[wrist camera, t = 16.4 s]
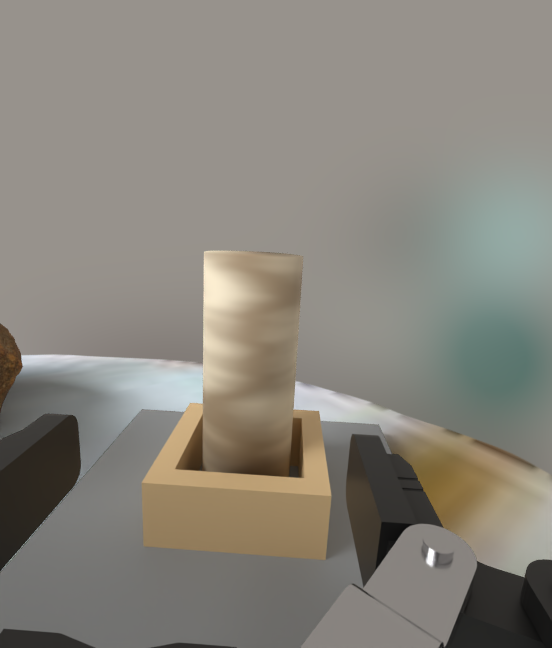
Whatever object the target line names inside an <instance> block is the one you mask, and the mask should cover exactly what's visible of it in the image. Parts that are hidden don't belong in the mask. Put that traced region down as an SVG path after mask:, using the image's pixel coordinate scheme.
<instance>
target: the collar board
mask: <svg viewBox="0 0 552 648" xmlns="http://www.w3.org/2000/svg"><path fill="white" fill-rule="evenodd" d="M352 434H365V435H378V436H379V437H380V439H381V441H382V443H383V446H384V448H385V450H386V452H387V454H392V453H391V450H390V448H389V446H388V444H387V442H386V439H385V437H384V435H383V433H382V431H381V428H380V426H379V425H376V424H361V423H346V422H330V421H320V415H319V411H308V410H293V423H292V439H291V455H290V470H289V477H279V476H264V475H250V474H235V473H221V472H206V471H202V465H203V404H198V403H190V404H189V406H188V407H187V409H186V411H185V412H175V411H160V410H144V409H142V410H141V411H140V412H139V413H138V414H137V415H136V417H135V418H134V419H133V420H132V421H131V422H130V424H129V425H128V426H127V427H126V428H125V429H124V430H123V432H122V433H121V434H120V435H119V436H118V437H117V439H116V440H115V441H114V442H113V443H112V444H111V445H110V447H109V448H108V449H107V450H106V451H105V452H104V454H103V455H102V456H101V457H100V458H99V459H98V460H97V462H96V463H95V464H94V465H93V466H92V467H91V469H90V470H89V471H88V472H87V473H86V474H85V475H84V477H83V478H82V479H81V480H80V481H79V482H78V484H77V485H76V486H75V487H74V488H73V489H72V490H71V492H70V493H69V494H68V495H67V496H66V497H65V499H64V500H63V501H62V502H61V503H60V504H59V505H58V507H57V508H56V509H55V510H54V511H53V512H52V514H51V515H50V516H49V517H48V518H47V519H46V520H45V522H44V523H43V524H42V525H41V526H40V527H39V529H38V530H37V531H36V532H35V533H34V534H33V535H32V537H31V538H30V539H29V540H28V541H27V542H26V544H25V545H24V546H23V547H22V548H21V549H20V550H19V552H18V553H17V554H16V555H15V556H14V557H13V559H12V560H11V561H10V562H9V563H8V564H7V565H6V567H5V568H4V569H3V570H2V571H1V572H0V633H1V632H2V630H3V629H15V630H28V631H41V632H53V633H61V634H64V635H66V636H69V637H71V638H73V639H76V640H78V641H81V642H83V643H85V644H88V645H90V646H93V647H95V648H151V647H156V646H162V645H167V644H173V643H178V642H180V643H192V644H205V645H218V646H230V647H237V648H300V647H301V646H302V644H303V643H304V642H305V641H306V639H307V638H308V637H309V635H310V634H311V633H312V631H313V630H314V629H315V627H316V626H317V625H318V623H319V622H320V621H321V619H322V618H323V617H324V616H325V614H326V613H327V612H328V610H329V609H330V608H331V606H332V605H333V604H334V602H335V601H336V600H337V598H338V597H339V596H340V594H341V593H342V592H343V591H344V589H345V588H346V587H347V586H348V585H350V584H356V585H357V586H359V587H360V588H362V589H363V588H364V587H363V583H362V578H361V573H360V568H359V563H358V558H357V553H356V548H355V543H354V538H353V534H352V529H351V524H350V519H349V514H348V509H347V503H346V479H347V469H348V459H349V449H350V440H351V436H352Z"/></svg>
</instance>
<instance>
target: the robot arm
mask: <svg viewBox="0 0 552 648" xmlns="http://www.w3.org/2000/svg"><path fill="white" fill-rule="evenodd" d="M80 467H81V460H80V446H79V432H78V422H77V419H76V417H75V416H73V415H61V414H44V415H43V416H41V417H40V418H39V419H37V420H36V421H34V422H33V423H32V424H30V425H29V426H28V427H26V428H25V429H23V430H21V431H19V432H17V433H14V434H12V435H10V436H7V437H5V438H3V439H2V440H0V571H1V570H2V568H3V567H4V566H5V565H6V564H7V563H8V561H9V560H10V559H11V558H12V557H13V556H14V555H15V553H16V552H17V551H18V550H19V549H20V548H21V546H22V545H23V544H24V543H25V542H26V541H27V540H28V538H29V537H30V536H31V535H32V534H33V533H34V531H35V530H36V529H37V528H38V527H39V526H40V525H41V523H42V522H43V521H44V520H45V519H46V518H47V516H48V515H49V514H50V513H51V512H52V511H53V510H54V508H55V507H56V506H57V505H58V504H59V503H60V501H61V500H62V499H63V498H64V497H65V496H66V495H67V493H68V492H69V491H70V490H71V489H72V488H73V486H74V485H75V483H76V481H77V479H78V476H79V473H80ZM346 503H347V509H348V514H349V519H350V524H351V529H352V534H353V538H354V543H355V548H356V553H357V558H358V563H359V568H360V573H361V578H362V583H363V587H364V588H363V589H362V588H360V587H359V586H357V585H356V584H350V585H348V586H347V587H346V588H345V589H344V591H343V592H342V593H341V594H340V596H339V597H338V598H337V600H336V601H335V602H334V604H333V605H332V606H331V608H330V609H329V610H328V612H327V613H326V614H325V616H324V617H323V618H322V619H321V621H320V622H319V623H318V625H317V626H316V627H315V629H314V630H313V631H312V633H311V634H310V635H309V637H308V638H307V639H306V641H305V642H304V643H303V644H302V646H301V647H300V648H552V560H536V561H533V562H532V563H530V564H529V565H528V567H527V570H526V574H525V578H524V577H521V576H518V575H515V574H511V573H508V572H505V571H502V570H499V569H495V568H492V567H490V566H487V565H484V564H482V563H480V562H478V561H477V560H476V556H475V554H474V552H473V550H472V549H471V548H470V546H469V545H468V544H467V543H466V542H465V541H464V540H463V539H461V538H460V537H459V536H457V535H456V534H454V533H452V532H451V531H449V530H447V529H444V528H443V526H442V524H441V522H440V520H439V518H438V516H437V514H436V512H435V511H434V509H433V507H432V505H431V503H430V501H429V499H428V497H427V495H426V493H425V492H424V491H423V487H422V486H421V484H420V482H419V481H418V478H417V476H416V474H415V472H414V470H413V468H412V466H411V465H410V464H409V463H407V462H406V461H405V460H404V459H403V458H402V457H400V456H399V455H398V454H387V452H386V450H385V448H384V446H383V443H382V441H381V439H380V437H379V436H378V435H365V434H352V436H351V440H350V449H349V459H348V469H347V479H346ZM0 648H95V647H93V646H90V645H88V644H85V643H83V642H81V641H78V640H76V639H73V638H71V637H69V636H66V635H64V634H61V633H53V632H41V631H28V630H15V629H3V630H2V632H1V633H0ZM151 648H237V647H230V646H218V645H205V644H192V643H180V642H178V643H173V644H167V645H162V646H156V647H151Z"/></svg>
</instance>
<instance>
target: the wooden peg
mask: <svg viewBox="0 0 552 648" xmlns="http://www.w3.org/2000/svg"><path fill="white" fill-rule="evenodd" d="M302 267H303V256H300V255H292V254H283V253H270V252H251V251H205V252H204V329H203V330H204V331H203V337H204V338H203V465H202V471H206V472H221V473H235V474H250V475H264V476H279V477H289V470H290V455H291V439H292V423H293V408H294V392H295V376H296V359H297V345H298V330H299V314H300V298H301V283H302Z"/></svg>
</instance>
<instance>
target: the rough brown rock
mask: <svg viewBox="0 0 552 648" xmlns="http://www.w3.org/2000/svg"><path fill="white" fill-rule="evenodd" d="M22 367H23V366H22V361H21V353H20V351H19V349H18V347H17V345H16V343H15V339H14V338H13V336H12V335H11V334H10V333H9V331H8V329H7V328H5V327H4V326H3V325H1V324H0V411H1V407H2V403H3V401H4V399H5V397H6V395H7V393H8V391H9V389H10V388H11V386H12V385H13V383H14V381H15V378H16V376H17V375H18V374H19V373H20V371H21V369H22Z"/></svg>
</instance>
